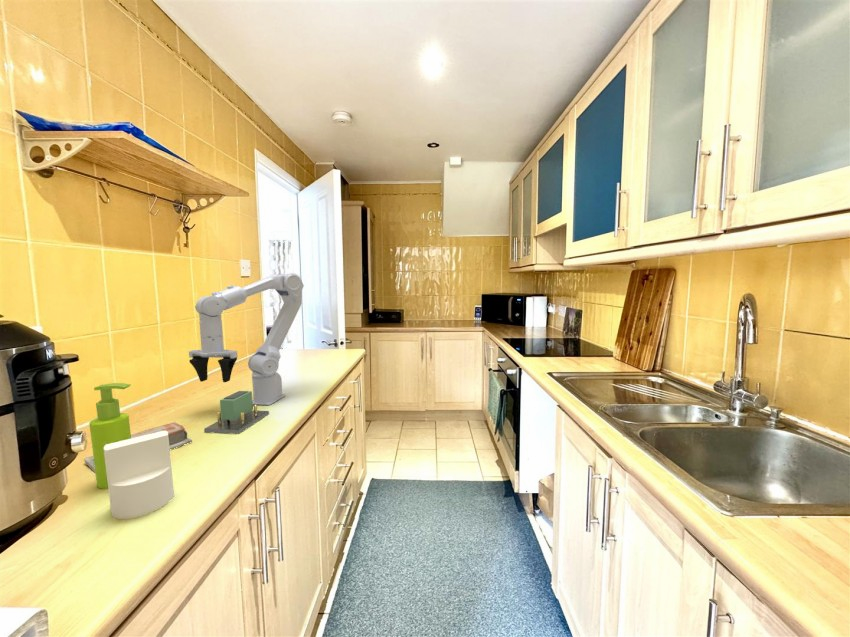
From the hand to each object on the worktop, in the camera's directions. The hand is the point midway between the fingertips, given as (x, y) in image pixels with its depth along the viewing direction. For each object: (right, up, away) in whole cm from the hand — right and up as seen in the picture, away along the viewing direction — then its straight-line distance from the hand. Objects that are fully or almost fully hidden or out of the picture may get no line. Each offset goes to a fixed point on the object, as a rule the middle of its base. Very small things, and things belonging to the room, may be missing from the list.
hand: (215, 381), depth 108 cm
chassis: (+10, -11, -6) cm, 16 cm away
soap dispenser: (+1, -14, -35) cm, 38 cm away
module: (+10, -8, -7) cm, 15 cm away
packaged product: (-4, -14, -23) cm, 27 cm away
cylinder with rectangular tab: (+12, -15, -43) cm, 47 cm away
